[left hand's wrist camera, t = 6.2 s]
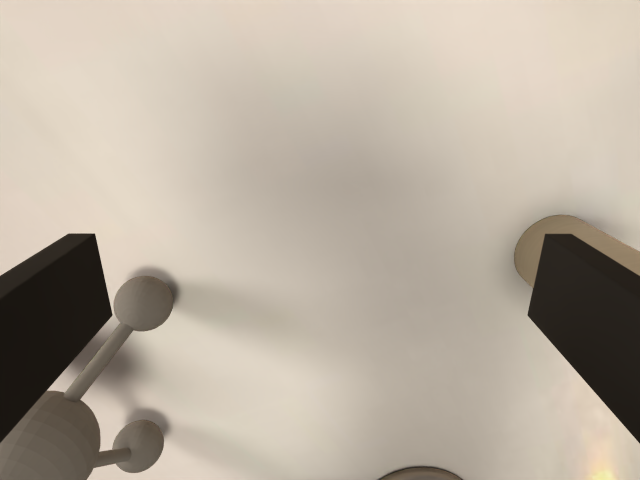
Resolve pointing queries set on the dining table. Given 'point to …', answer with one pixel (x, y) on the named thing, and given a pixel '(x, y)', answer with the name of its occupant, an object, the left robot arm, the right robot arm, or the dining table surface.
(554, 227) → the jar
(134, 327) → the molecular model
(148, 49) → the dining table surface
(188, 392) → the dining table surface
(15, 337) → the left robot arm
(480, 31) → the dining table surface
